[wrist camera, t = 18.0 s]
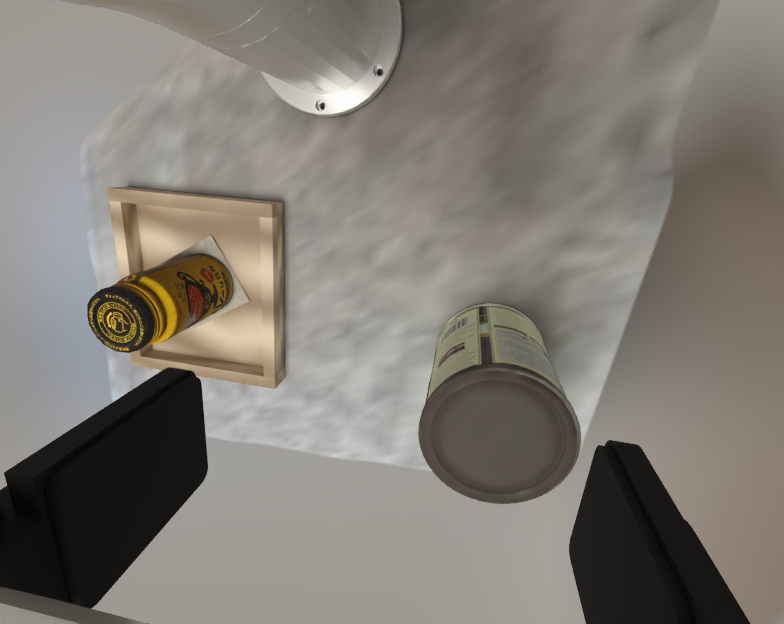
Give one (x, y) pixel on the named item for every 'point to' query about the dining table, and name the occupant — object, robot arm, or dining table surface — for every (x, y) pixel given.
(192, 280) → the condiment
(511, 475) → the coffee can
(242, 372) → the tray
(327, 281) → the dining table surface
